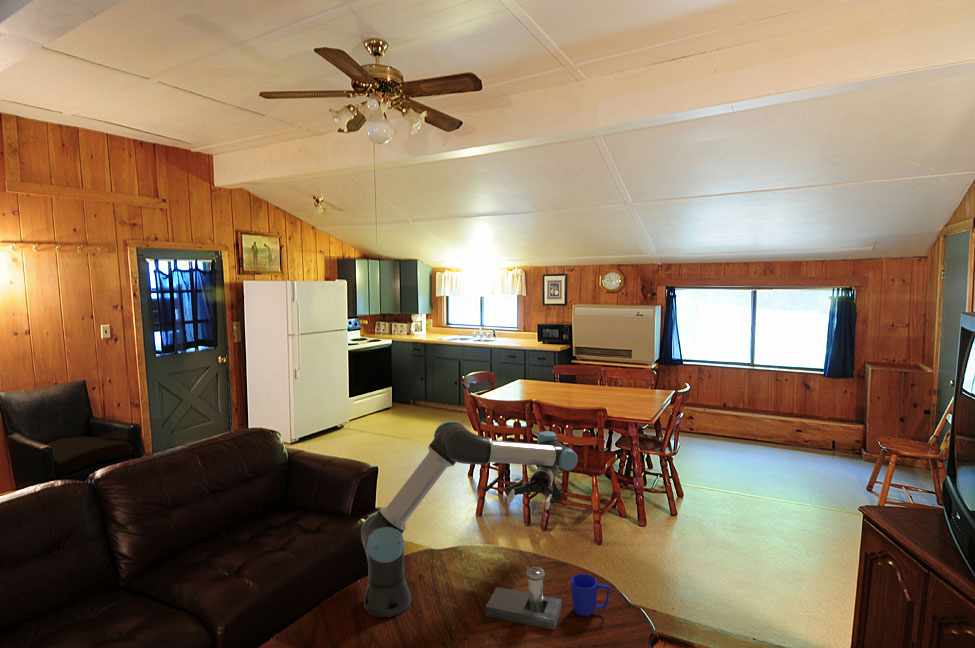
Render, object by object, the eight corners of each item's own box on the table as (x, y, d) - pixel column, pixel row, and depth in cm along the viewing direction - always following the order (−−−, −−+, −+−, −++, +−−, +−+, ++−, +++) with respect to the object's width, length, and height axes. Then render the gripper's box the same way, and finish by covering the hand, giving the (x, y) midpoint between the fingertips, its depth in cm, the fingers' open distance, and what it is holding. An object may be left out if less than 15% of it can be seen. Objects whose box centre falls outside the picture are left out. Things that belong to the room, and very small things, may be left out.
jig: (485, 615, 160) (485, 606, 160) (496, 595, 170) (496, 586, 170) (554, 630, 153) (554, 620, 152) (561, 608, 163) (561, 599, 163)
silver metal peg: (525, 617, 158) (524, 575, 157) (529, 607, 164) (529, 565, 163) (542, 621, 157) (542, 578, 156) (546, 610, 162) (546, 568, 161)
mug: (610, 622, 156) (610, 591, 155) (570, 617, 158) (570, 587, 157) (609, 605, 164) (609, 576, 163) (571, 601, 166) (571, 572, 165)
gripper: (574, 493, 188) (563, 518, 168) (510, 486, 197) (492, 509, 177) (574, 474, 188) (563, 496, 168) (510, 467, 196) (492, 488, 176)
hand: (527, 503), depth 172 cm, fingers open, 13 cm apart
